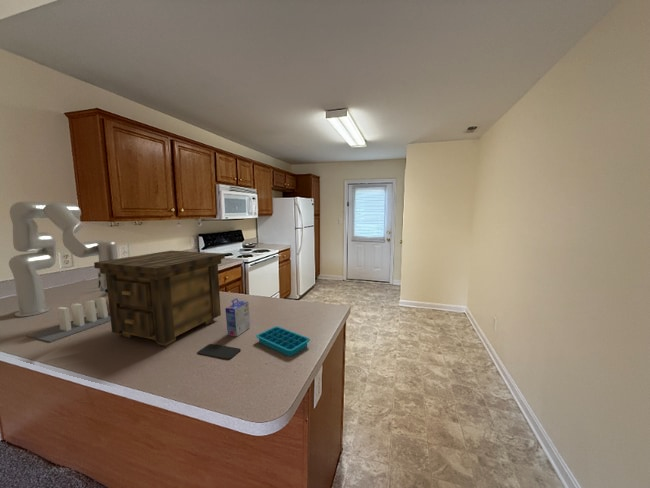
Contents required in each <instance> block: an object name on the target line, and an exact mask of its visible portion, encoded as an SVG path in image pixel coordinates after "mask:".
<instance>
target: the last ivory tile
mask: <svg viewBox="0 0 650 488" xmlns="http://www.w3.org/2000/svg"><path fill="white" fill-rule="evenodd" d="M57 317H58V322H59V323H58V325H60V329H61V330H65V331H68V330H71V322H70V321H71V314H70V309H69V307H65V306H59V307H57Z"/></svg>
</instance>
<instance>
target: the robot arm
mask: <svg viewBox="0 0 650 488" xmlns="http://www.w3.org/2000/svg"><path fill="white" fill-rule="evenodd" d="M9 216H10V217H9V218H10V220H11V223H12V244H13V249H14V250H15V251H17V252H22V254H18V255H15V256H13V257H10V259H9V261H8V267H9V269H10V271H11V273H12V276H13V281H14V285H15V291H16V292H15V293H16V297H17V299H16V300H17V304H18V311H17V312H15V313H14V316H15V317H19V318H22V317H30V316H36V315H40V314H43V313H47V312H49V311H50V310H51V307H50V306H49V305H48V306H47V305H46V297H45V291H44V283H43V278H42V276H41V275H40V274H39V273H38V272H37V271H39V270H45V269H50V268H52V267H53V266H54V265H55V264H56V261H57V250H56V249H57V248H56V247H57V244H56V243H57V241H56V239H55V237H54V236H53V235H52V234H51V233H49V232H46V231H39V230H38V229H39V228H38V227H39V226H38V223H37V222H36V221H35V219H49V220H50V221H51V222H52V223H53V224H54V225H55V226H56V227H57V228H58V229H59V231H61V232H62V234H61V236H62V237H61V240H62V243H63V245H64V247H65V248H66V250H68V251H69V252H70V253H71V254H72V255H74V256H75V257H77V258H89V257H94V256H95V257H96V256H98V262H101V261H107V260H113V259H119V257H118V247H117V243H116V241H112V240H110V241H109V240H108V241H104V240H91V241H83V242H82V241H81V240H80V239H79V238H78V237H77V236H76V234H77V233H78V232H79V231H81V230H82V228H83V222H81V221H80V220H79V218H80V217H81V216H82V211H81V208H80V207H79V206H78V205H77V204H75V203H72V202H70V203H69V202H56V201H55V202H54V201H37V200H36V201H35V200H32V201H31V200H24V201H17V202H15V203H13V204H12V205H11V206H10V208H9ZM35 251H37V252H35ZM26 252H28V253H26ZM29 252H30V253H29ZM97 270H98V271H97V286H98V289H99V290H98V291H99V292H100V293H101V292H102V293H103V292H104V293H106V294H108V291H107V282H106V274H101V273H100V269H97Z"/></svg>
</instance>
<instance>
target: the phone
mask: <svg viewBox="0 0 650 488" xmlns="http://www.w3.org/2000/svg"><path fill="white" fill-rule="evenodd" d="M241 351H242V349H241V348H238V347H235V346H234V347H232V346H226V345H221V344H215V343H209V344H207V345H205V346H203V348H201V349H199V350H198V351H197V355H201V356H206V357H211V358H216V359H222V360H226V361H229V360H232V359H233V358H234V357H236V356H237V355H238V354H239V353H240V352H241Z"/></svg>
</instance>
